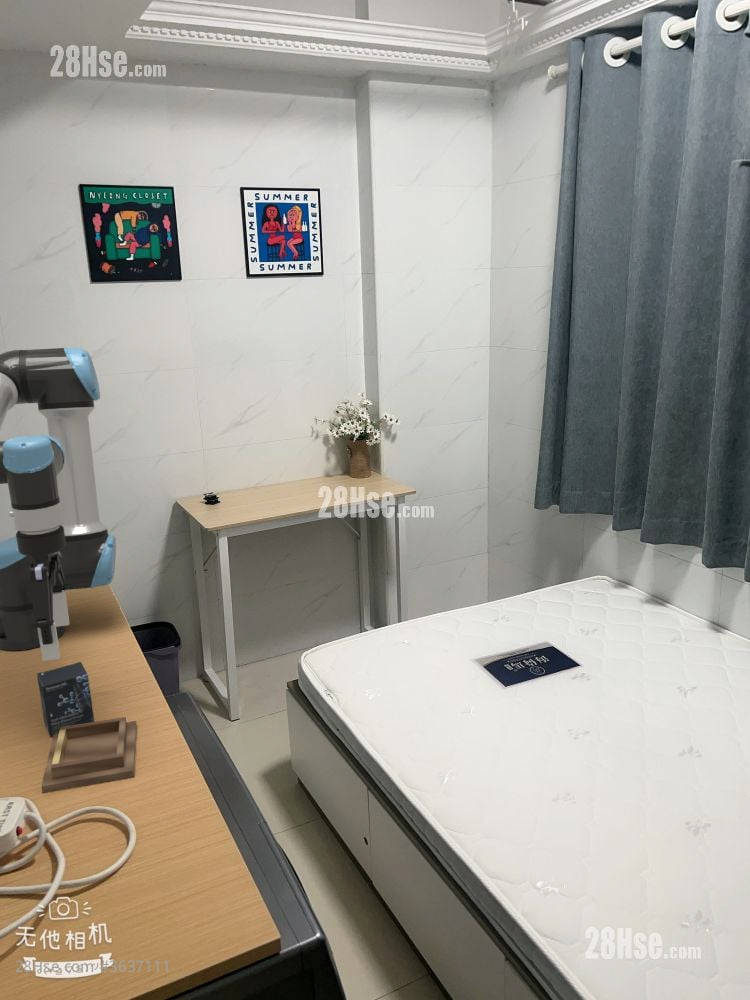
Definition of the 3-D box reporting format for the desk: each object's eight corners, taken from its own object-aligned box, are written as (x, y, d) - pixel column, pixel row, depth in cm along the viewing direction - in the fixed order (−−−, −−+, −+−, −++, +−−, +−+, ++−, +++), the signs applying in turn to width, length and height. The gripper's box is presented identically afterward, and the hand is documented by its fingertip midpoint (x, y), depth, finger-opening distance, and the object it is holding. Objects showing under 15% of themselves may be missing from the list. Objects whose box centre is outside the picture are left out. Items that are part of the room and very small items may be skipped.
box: (50, 738, 134) (41, 686, 131) (44, 723, 138) (35, 672, 135) (95, 724, 138) (88, 673, 135) (88, 710, 143) (80, 660, 140)
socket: (54, 739, 134) (52, 723, 133) (136, 726, 137) (134, 711, 136) (42, 792, 120) (39, 775, 119) (133, 776, 123) (131, 760, 122)
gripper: (27, 509, 138) (44, 615, 144) (0, 554, 115) (21, 678, 121) (71, 505, 140) (85, 610, 146) (53, 549, 117) (71, 671, 123)
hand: (56, 641), depth 133 cm, fingers open, 13 cm apart
